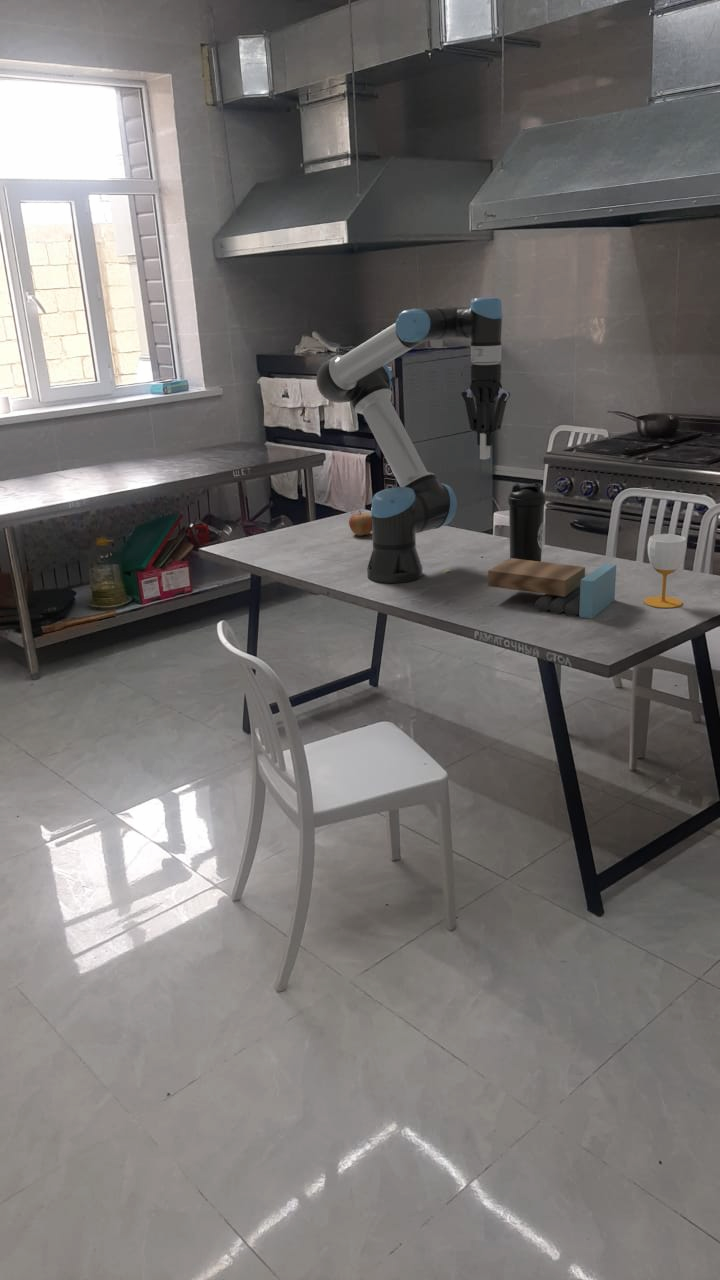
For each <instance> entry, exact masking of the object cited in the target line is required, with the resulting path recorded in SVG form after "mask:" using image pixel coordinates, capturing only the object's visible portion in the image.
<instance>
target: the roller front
mask: <svg viewBox="0 0 720 1280" xmlns="http://www.w3.org/2000/svg"><path fill="white" fill-rule="evenodd" d="M579 608H580V594H579V595H578V596H577V597H575V598H574V599H573V600H571V601H570V602H568V603H567V604H566V605H565V607H564V610H565V611H564V613H565V615H566V616H571V617H576V616H578V615H579Z"/></svg>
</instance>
